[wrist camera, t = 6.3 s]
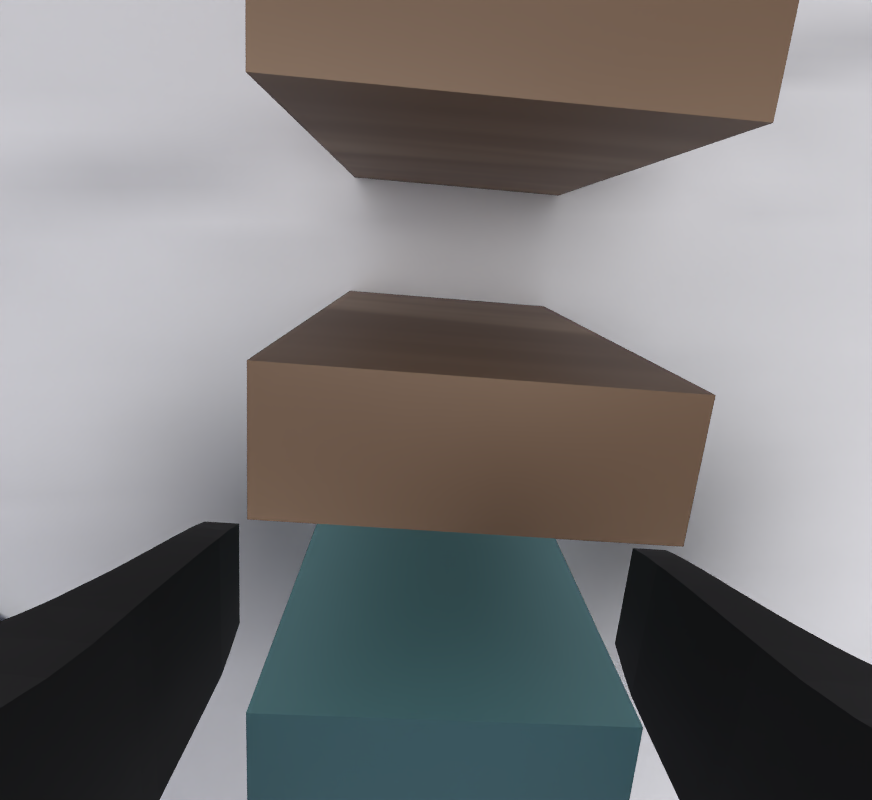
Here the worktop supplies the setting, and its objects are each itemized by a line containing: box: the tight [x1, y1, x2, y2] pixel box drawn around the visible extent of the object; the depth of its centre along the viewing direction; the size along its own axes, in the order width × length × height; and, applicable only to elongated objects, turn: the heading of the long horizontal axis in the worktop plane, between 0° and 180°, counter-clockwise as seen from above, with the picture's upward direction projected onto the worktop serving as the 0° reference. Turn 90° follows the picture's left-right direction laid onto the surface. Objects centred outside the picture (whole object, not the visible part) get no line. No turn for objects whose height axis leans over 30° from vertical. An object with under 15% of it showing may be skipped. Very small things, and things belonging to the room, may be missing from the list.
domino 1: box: [246, 0, 799, 195], centre depth 8 cm, size 2×4×8 cm, turn 85°
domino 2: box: [247, 291, 715, 547], centre depth 10 cm, size 2×4×8 cm, turn 85°
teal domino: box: [246, 524, 643, 800], centre depth 11 cm, size 2×4×8 cm, turn 86°
